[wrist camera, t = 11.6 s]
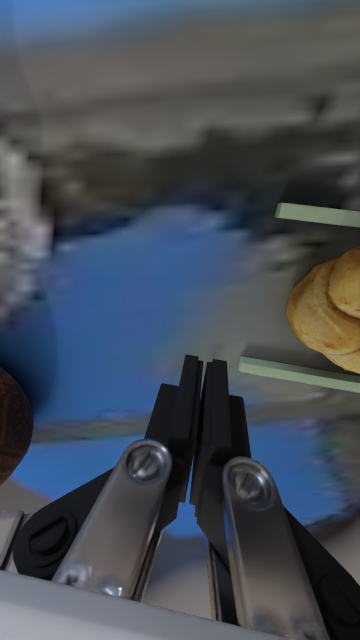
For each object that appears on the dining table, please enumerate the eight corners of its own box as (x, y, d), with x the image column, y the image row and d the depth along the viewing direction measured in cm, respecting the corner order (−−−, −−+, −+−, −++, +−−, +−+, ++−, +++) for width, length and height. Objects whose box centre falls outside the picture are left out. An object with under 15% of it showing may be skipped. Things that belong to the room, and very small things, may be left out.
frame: (277, 202, 23) (281, 202, 21) (485, 227, 21) (504, 228, 20) (238, 364, 30) (239, 371, 28) (391, 391, 28) (400, 400, 27)
